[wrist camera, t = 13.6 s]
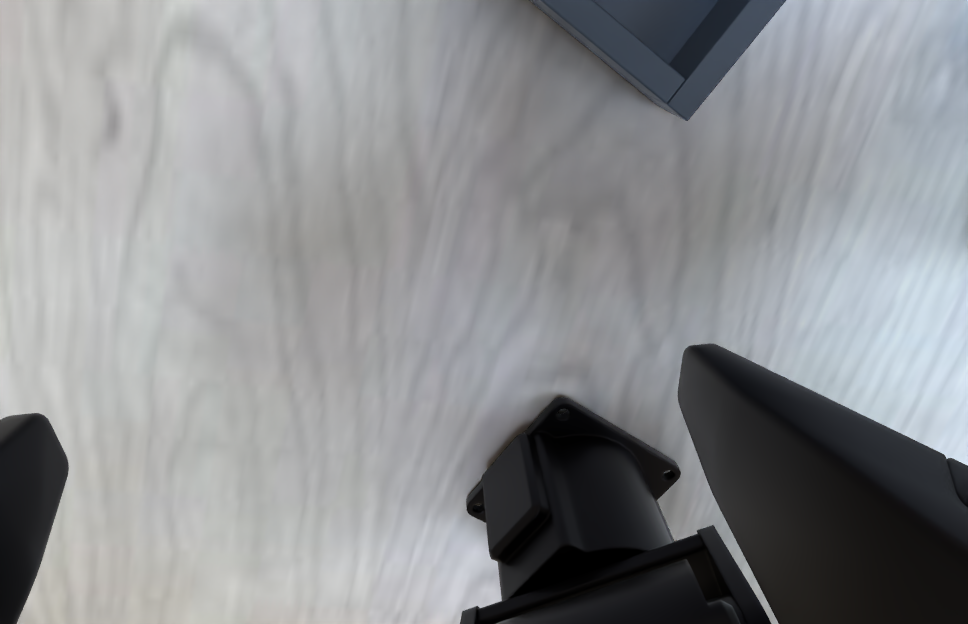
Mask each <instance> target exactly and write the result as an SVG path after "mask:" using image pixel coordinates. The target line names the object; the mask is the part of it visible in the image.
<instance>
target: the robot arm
mask: <svg viewBox="0 0 968 624" xmlns="http://www.w3.org/2000/svg"><path fill="white" fill-rule="evenodd" d="M678 401H679V405H680V408H681V411H682V414H683V417H684V419H685V422H686V425H687V427H688V430H689V433H690V435H691V438H692V441H693V443H694V446H695V449H696V451H697V454H698V457H699V459H700V462H701V465H702V467H703V470H704V473H705V476H706V478H707V481H708V483H709V486H710V488H711V491H712V493H713V495H714V497H715V499H716V501H717V504H718V506H719V508H720V510H721V512H722V514H723V516H724V518H725V519H726V521H727V523H728V525H729V527H730V529H731V531H732V533H733V535H734V537H735V539H736V541H737V543H738V545H739V547H740V549H741V551H742V553H743V555H744V557H745V559H746V560H747V562H748V564H749V566H750V568H751V570H752V572H753V574H754V576H755V578H756V580H757V582H758V584H759V586H760V588H761V590H762V592H763V594H764V596H765V598H766V600H767V601H768V603H769V605H770V607H771V609H772V611H773V613H774V615H775V617H776V619H777V621H778V623H779V624H968V466H967V465H965V464H963V463H961V462H959V461H957V460H955V459H952V458H948V459H947V460H946V457H945V455H944V454H942V453H940V452H938V451H936V450H934V449H932V448H929V447H927V446H925V445H923V444H921V443H919V442H917V441H915V440H913V439H911V438H909V437H907V436H905V435H903V434H901V433H898V432H896V431H894V430H892V429H890V428H888V427H886V426H884V425H882V424H880V423H878V422H876V421H874V420H872V419H869V418H867V417H865V416H863V415H861V414H859V413H857V412H855V411H853V410H851V409H849V408H847V407H845V406H843V405H840V404H838V403H836V402H834V401H832V400H830V399H828V398H826V397H824V396H822V395H820V394H818V393H816V392H814V391H812V390H809V389H807V388H805V387H803V386H801V385H799V384H797V383H795V382H793V381H791V380H789V379H787V378H785V377H783V376H780V375H778V374H776V373H774V372H772V371H770V370H768V369H766V368H764V367H762V366H760V365H758V364H756V363H754V362H751V361H749V360H747V359H745V358H743V357H741V356H739V355H737V354H735V353H733V352H731V351H729V350H727V349H725V348H723V347H720V346H718V345H716V344H711V343H710V344H701V345H692V346H688V347H687V348H686V349H685V351H684V353H683V358H682V365H681V372H680V379H679V387H678ZM560 409H568V410H567V411H566V412H565V413H562V414H560V413H557V412H558V411H559V410H560ZM68 469H69V467H68V460H67V456H66V454H65V452H64V450H63V448H62V446H61V444H60V442H59V440H58V438H57V436H56V434H55V432H54V430H53V428H52V426H51V424H50V422H49V420H48V419H47V418H46V417H45V416H44V415H42V414H39V413H32V414H22V415H13V416H8V417H5V418H3V419H1V420H0V624H17V621H18V619H19V617H20V614H21V612H22V610H23V607H24V605H25V603H26V600H27V598H28V596H29V593H30V591H31V588H32V586H33V583H34V581H35V578H36V576H37V573H38V570H39V567H40V564H41V561H42V558H43V555H44V552H45V548H46V545H47V542H48V538H49V535H50V532H51V529H52V525H53V522H54V519H55V516H56V512H57V509H58V506H59V503H60V499H61V496H62V493H63V489H64V486H65V483H66V480H67V476H68ZM668 470H670V472H668V473H664V472H665V471H668ZM680 474H681V472H680V469H679V467H678V465H677V463H676V462H675V461H674V460H672V459H670V458H669V457H667V456H665V455H663V454H662V453H660V452H658V451H657V450H655V449H653V448H652V447H650V446H648V445H647V444H645V443H643V442H641V441H640V440H638V439H636V438H635V437H633V436H631V435H630V434H628V433H626V432H625V431H623V430H621V429H619V428H618V427H616V426H614V425H613V424H611V423H609V422H608V421H606V420H604V419H603V418H601V417H599V416H597V415H596V414H594V413H592V412H591V411H589V410H587V409H586V408H584V407H582V406H581V405H579V404H577V403H576V402H574V401H572V400H570V399H568V398H565V397H560V398H557V399H555V400H553V401H552V402H551V403H550V404H549V405H548V406H547V408H546V409H545V410H544V411H543V412H542V413H541V414H540V416H539V417H538V418H537V419H536V420H535V421H534V422H533V423H532V425H531V426H530V427H529V428H528V429H527V430H526V431H525V432H524V433H522V434H520V435H518V436H517V437H516V438H515V439H514V440H513V441H512V443H511V444H510V445H509V446H508V447H507V448H506V449H505V450H504V452H503V453H502V454H501V455H500V456H499V457H498V458H497V460H496V461H495V462H494V463H493V464H492V465H491V466H490V468H489V469H488V470H487V471H486V472H485V473H484V474H483V476H482V481H481V482H480V483H479V485H478V486H477V487H476V488H475V489H474V490H473V491H472V492H471V494H470V495H469V496H468V497H467V499H466V506H467V511H468V513H469V514H470V515H471V516H473V517H475V518H477V519H479V520H481V521H483V522H486V524H487V535H488V546H489V553H490V557H491V559H493V560H495V561H497V562H498V568H499V577H500V587H501V596H502V601H501V602H498V603H495V604H492V605H489V606H486V607H483V608H479V607H478V606H476V607H473V608H470V609H468V610H465V611H463V612H462V616H461V622H460V624H771V622H770V620H769V618H768V616H767V614H766V612H765V611H764V609H763V607H762V605H761V604H760V602H759V600H758V598H757V597H756V595H755V593H754V592H753V590H752V588H751V587H750V585H749V583H748V582H747V580H746V578H745V577H744V575H743V573H742V572H741V570H740V568H739V567H738V565H737V564H736V562H735V560H734V559H733V557H732V555H731V554H730V552H729V550H728V549H727V547H726V545H725V544H724V542H723V540H722V539H721V537H720V535H719V534H718V532H717V530H716V529H715V527H714V526H713V525H712V526H709V527H706V528H703V529H700V530H697V532H698V534H696V535H693V536H690V537H687V538H684V539H681V540H678V541H675V542H674V539H673V537H672V535H671V532H670V530H669V528H668V525H667V523H666V521H665V518H664V516H663V514H662V512H661V509H660V507H659V505H658V502H657V499H659V498H660V497H661V496H662V495H663V494H664V493H665V492H666V491H667V490H668V489H669V488H670V487H671V486H672V485H673V484H674V483H675V482H676V481H677V480H678V479H679V477H680ZM477 503H481V504H482V505H479V506H477V505H475V504H477Z"/></svg>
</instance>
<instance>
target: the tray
mask: <svg viewBox="0 0 968 624" xmlns="http://www.w3.org/2000/svg"><path fill="white" fill-rule="evenodd" d="M530 1H531V2H532V3H533V4H534V5H536V6H537V7H538V8H539V9H540V10H542V11H543V12H544V13H545V14H547V15H548V16H549V17H550V18H551V19H553V20H554V21H555V22H556V23H558V24H559V25H560V26H561V27H562V28H564V29H565V30H566V31H567V32H569V33H570V34H571V35H572V36H573V37H575V38H576V39H577V40H578V41H580V42H581V43H582V44H583V45H584V46H586V47H587V48H588V49H589V50H590V51H592V52H593V53H594V54H595V55H597V56H598V57H599V58H600V59H601V60H603V61H604V62H605V63H606V64H608V65H609V66H610V67H611V68H612V69H614V70H615V71H616V72H617V73H619V74H620V75H621V76H622V77H623V78H625V79H626V80H627V81H628V82H630V83H631V84H632V85H633V86H634V87H636V88H637V89H638V90H639V91H640V92H642V93H643V94H644V95H645V96H647V97H648V98H649V99H650V100H651V101H653V102H654V103H655V104H656V105H658V106H659V107H661V108H663V109H665V110H667V111H669V112H670V113H672V114H674V115H676V116H678V117H680V118H682V119H684V120H686V121H688V120H689V119H690V117H691V116H692V115H693V114H694V113H695V111H696V110H697V109H698V108H699V106H700V105H701V104H702V103H703V102H704V100H705V99H706V98H707V97H708V95H709V94H710V93H711V92H712V91H713V89H714V88H715V87H716V86H717V84H718V83H719V82H720V81H721V80H722V78H723V77H724V76H725V75H726V73H727V72H728V71H729V70H730V68H731V67H732V66H733V65H734V64H735V62H736V61H737V60H738V59H739V57H740V56H741V55H742V54H743V53H744V51H745V50H746V49H747V48H748V46H749V45H750V44H751V43H752V42H753V40H754V39H755V38H756V37H757V35H758V34H759V33H760V32H761V30H762V29H763V28H764V27H765V26H766V24H767V23H768V22H769V21H770V19H771V18H772V17H773V16H774V15H775V13H776V12H777V11H778V10H779V8H780V7H781V6H782V5H783V4H784V2H785V1H786V0H530Z"/></svg>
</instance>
